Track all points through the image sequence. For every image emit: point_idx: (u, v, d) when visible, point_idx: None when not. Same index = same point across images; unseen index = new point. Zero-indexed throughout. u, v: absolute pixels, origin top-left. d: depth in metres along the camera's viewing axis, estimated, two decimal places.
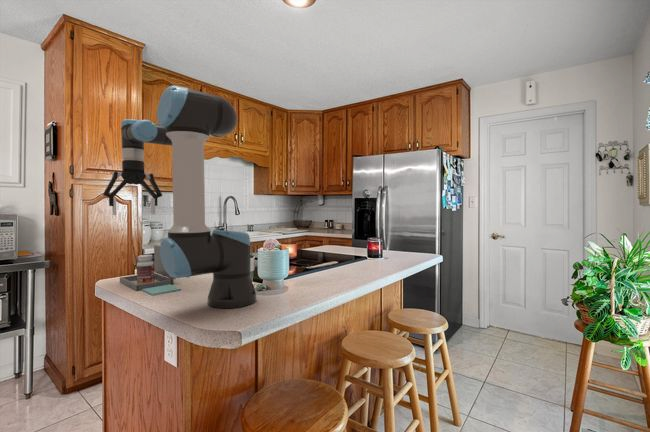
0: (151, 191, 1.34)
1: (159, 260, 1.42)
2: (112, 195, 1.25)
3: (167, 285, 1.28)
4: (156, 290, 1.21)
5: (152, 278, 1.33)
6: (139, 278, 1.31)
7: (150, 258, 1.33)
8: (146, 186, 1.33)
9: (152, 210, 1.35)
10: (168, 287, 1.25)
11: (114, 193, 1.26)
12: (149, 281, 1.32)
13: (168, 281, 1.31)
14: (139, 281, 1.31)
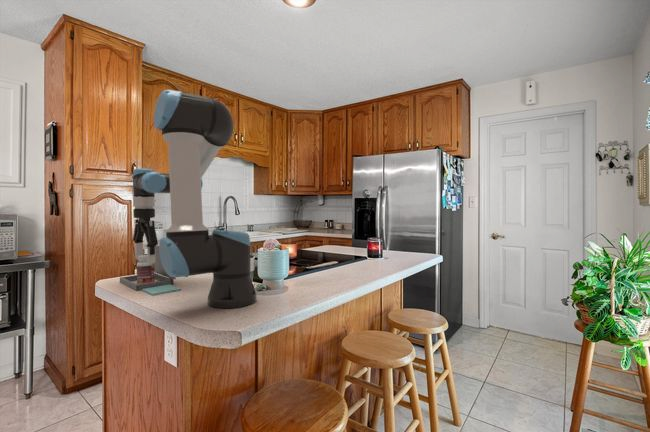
0: (147, 239, 1.28)
1: (159, 260, 1.42)
2: (135, 241, 1.38)
3: (167, 285, 1.28)
4: (156, 290, 1.21)
5: (152, 278, 1.33)
6: (139, 278, 1.31)
7: None
8: (145, 234, 1.30)
9: None
10: (168, 287, 1.25)
11: (135, 239, 1.37)
12: (149, 281, 1.32)
13: (168, 281, 1.31)
14: (139, 281, 1.31)
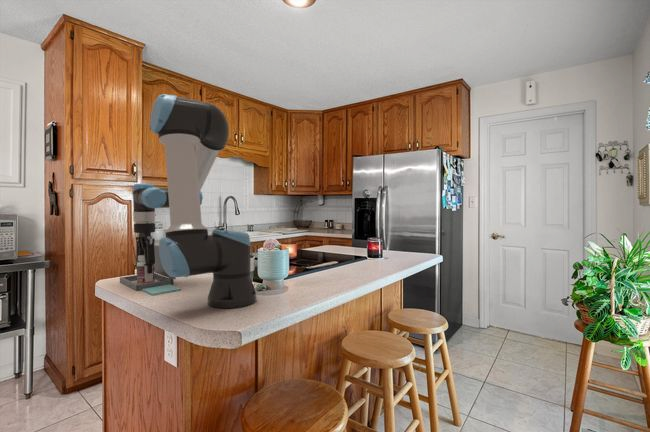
0: (145, 257, 1.30)
1: (159, 260, 1.42)
2: None
3: (167, 285, 1.28)
4: (156, 290, 1.21)
5: None
6: (139, 278, 1.31)
7: None
8: (144, 250, 1.31)
9: None
10: (168, 287, 1.25)
11: None
12: None
13: (168, 281, 1.31)
14: (139, 281, 1.31)
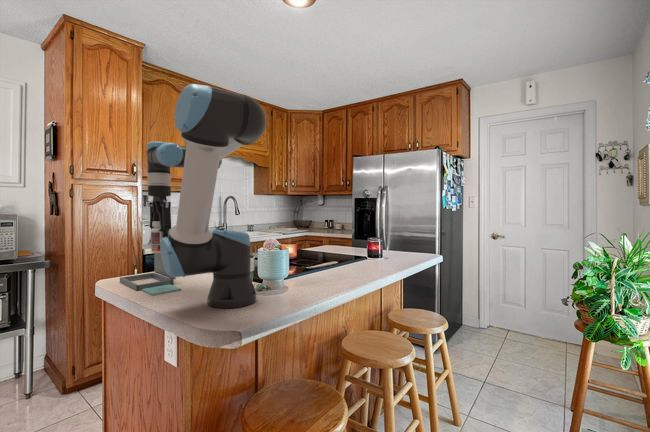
0: (160, 222, 1.19)
1: (159, 260, 1.42)
2: (152, 227, 1.24)
3: (167, 285, 1.28)
4: (156, 290, 1.21)
5: None
6: (154, 245, 1.19)
7: None
8: (159, 215, 1.19)
9: None
10: (168, 287, 1.25)
11: None
12: None
13: (168, 281, 1.31)
14: (154, 249, 1.20)
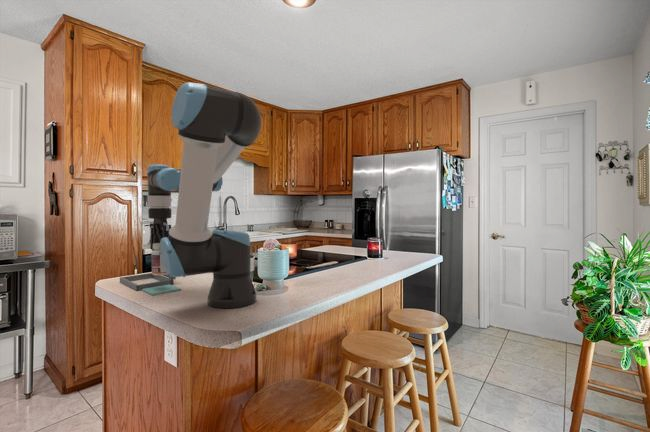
0: None
1: None
2: (152, 249, 1.25)
3: (167, 285, 1.28)
4: (156, 290, 1.21)
5: None
6: (154, 268, 1.20)
7: None
8: (159, 238, 1.20)
9: None
10: (168, 287, 1.25)
11: None
12: None
13: (168, 281, 1.31)
14: (154, 271, 1.20)
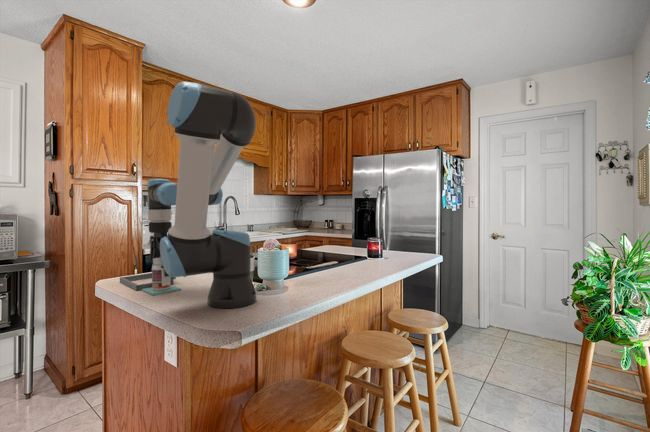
0: None
1: None
2: (152, 261, 1.25)
3: None
4: (156, 290, 1.21)
5: None
6: (154, 283, 1.20)
7: None
8: None
9: None
10: None
11: (152, 259, 1.25)
12: (165, 286, 1.21)
13: None
14: (154, 286, 1.20)
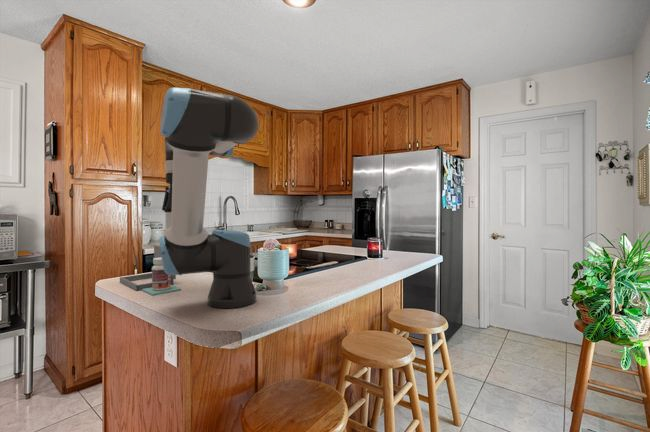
0: None
1: None
2: (165, 210, 1.29)
3: None
4: (156, 290, 1.21)
5: (168, 283, 1.22)
6: (154, 283, 1.20)
7: None
8: None
9: None
10: None
11: (165, 208, 1.29)
12: (165, 286, 1.21)
13: None
14: (154, 286, 1.20)
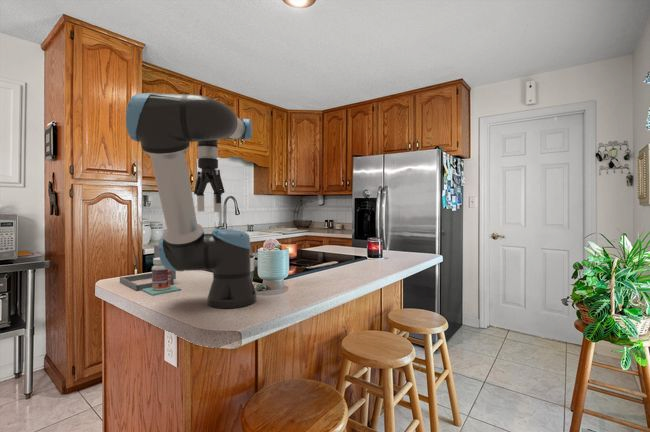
0: (213, 187, 1.28)
1: None
2: (196, 193, 1.38)
3: None
4: (156, 290, 1.21)
5: (168, 283, 1.22)
6: (154, 283, 1.20)
7: None
8: (210, 183, 1.30)
9: None
10: None
11: (197, 191, 1.37)
12: (165, 286, 1.21)
13: None
14: (154, 286, 1.20)
